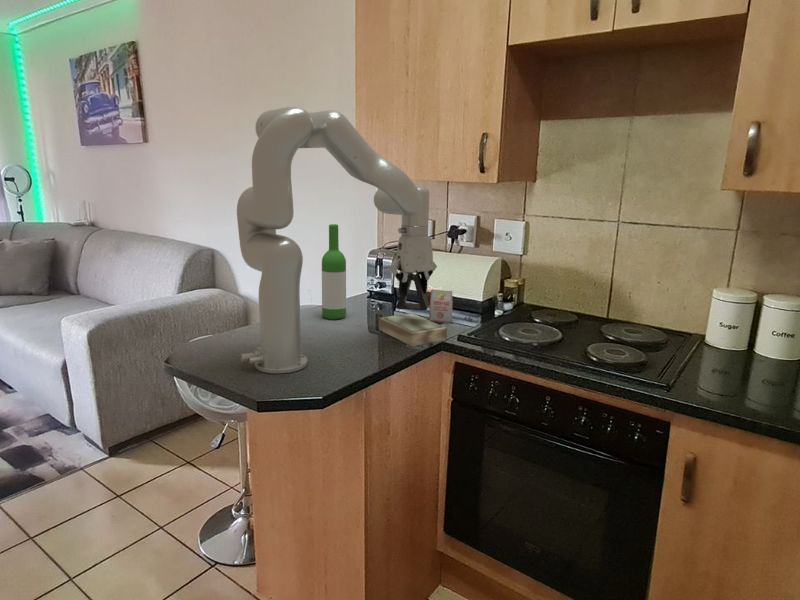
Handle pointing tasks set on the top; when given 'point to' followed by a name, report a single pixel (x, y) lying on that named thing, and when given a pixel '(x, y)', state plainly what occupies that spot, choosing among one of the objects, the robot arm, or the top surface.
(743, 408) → the top surface
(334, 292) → the wine bottle
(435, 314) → the small printed carton
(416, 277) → the dark brown arched piece
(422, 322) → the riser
